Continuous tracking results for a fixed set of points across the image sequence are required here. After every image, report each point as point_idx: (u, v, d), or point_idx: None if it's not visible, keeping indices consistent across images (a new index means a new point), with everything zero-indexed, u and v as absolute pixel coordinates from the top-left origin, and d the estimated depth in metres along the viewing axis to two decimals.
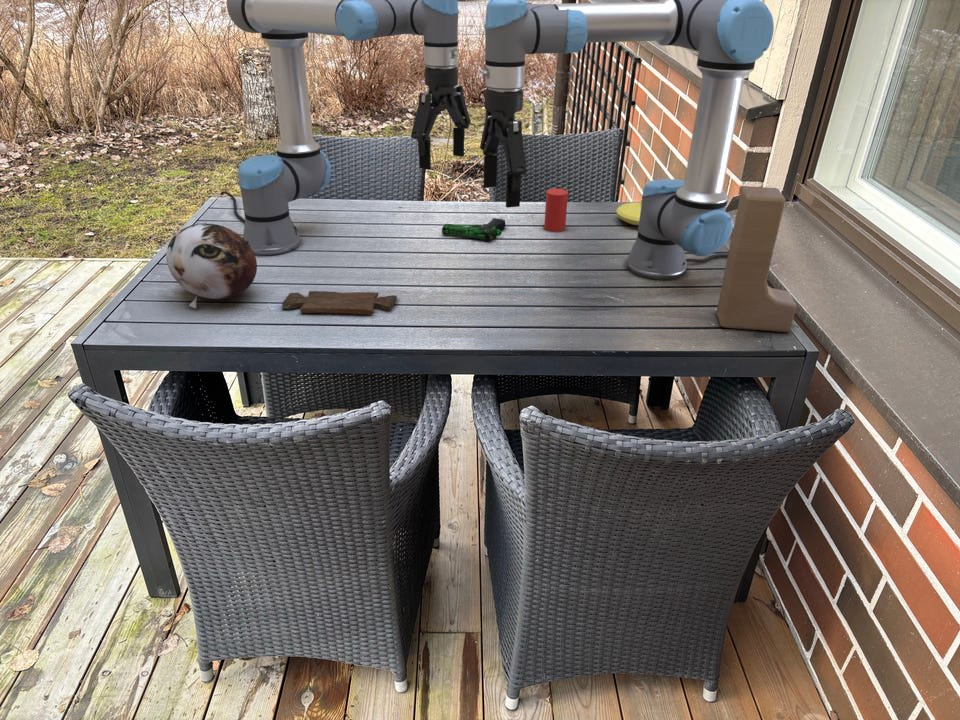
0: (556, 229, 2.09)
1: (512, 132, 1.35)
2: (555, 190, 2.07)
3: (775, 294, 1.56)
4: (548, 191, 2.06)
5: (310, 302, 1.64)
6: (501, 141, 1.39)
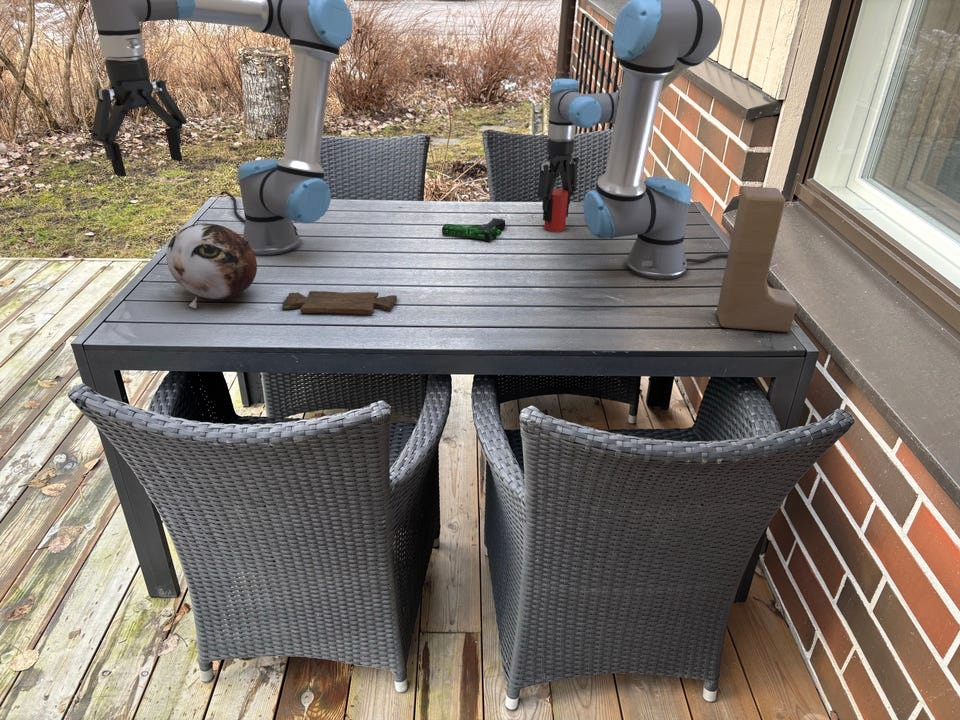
0: (556, 229, 2.09)
1: (541, 170, 2.00)
2: (555, 190, 2.07)
3: (775, 294, 1.56)
4: None
5: (310, 302, 1.64)
6: None
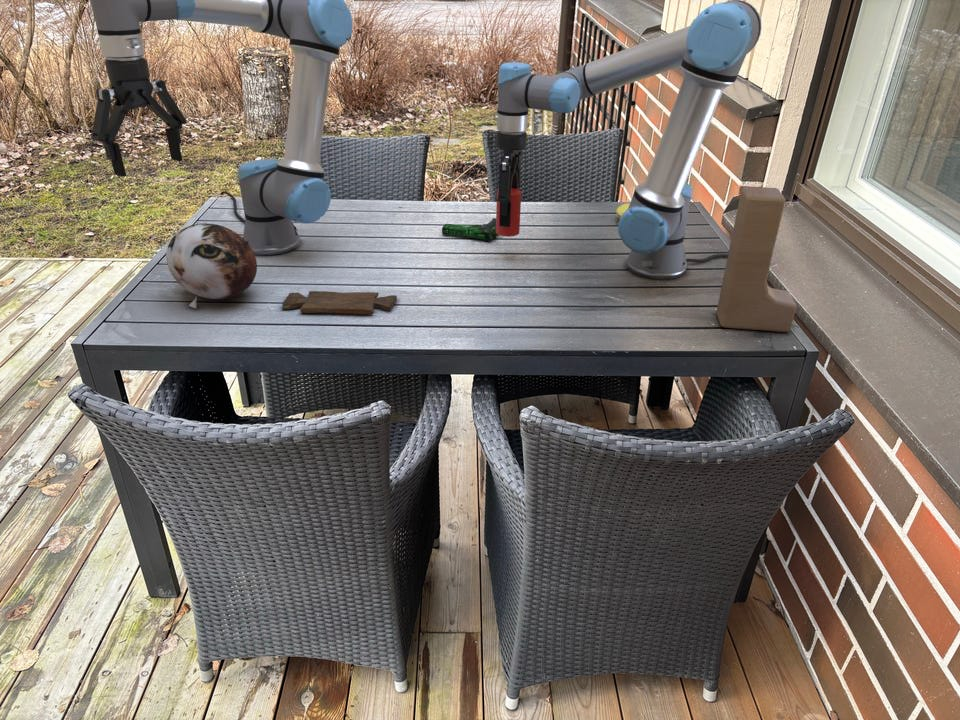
0: (515, 233, 1.86)
1: (501, 170, 1.74)
2: None
3: (775, 294, 1.56)
4: None
5: (310, 302, 1.64)
6: None
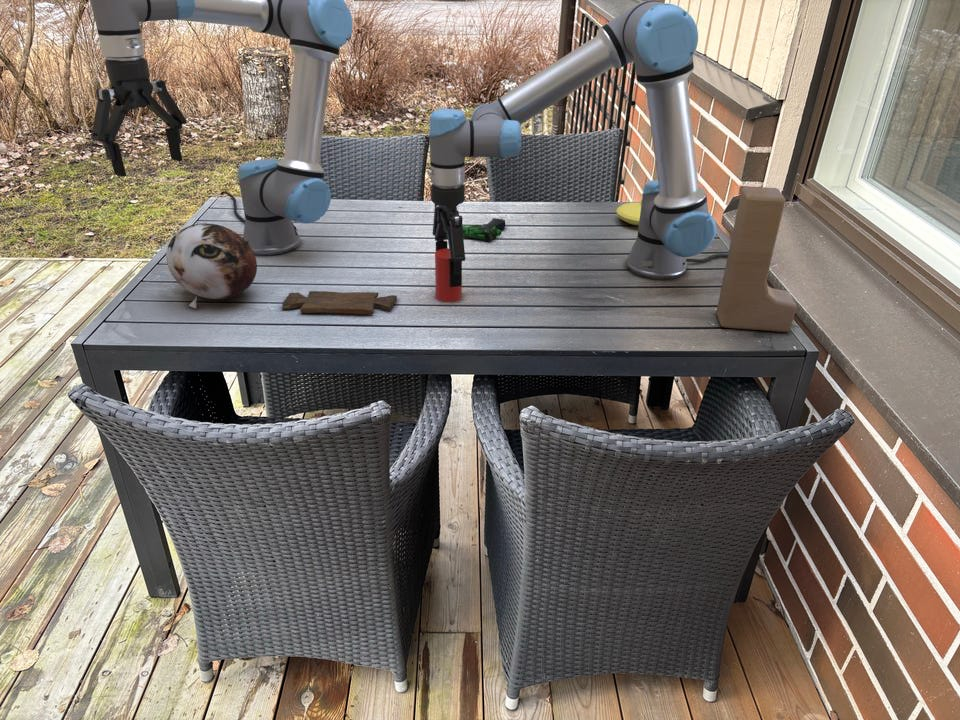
0: (461, 295, 1.70)
1: (454, 226, 1.55)
2: (444, 253, 1.65)
3: (775, 294, 1.56)
4: (443, 257, 1.63)
5: (310, 302, 1.64)
6: (445, 230, 1.59)
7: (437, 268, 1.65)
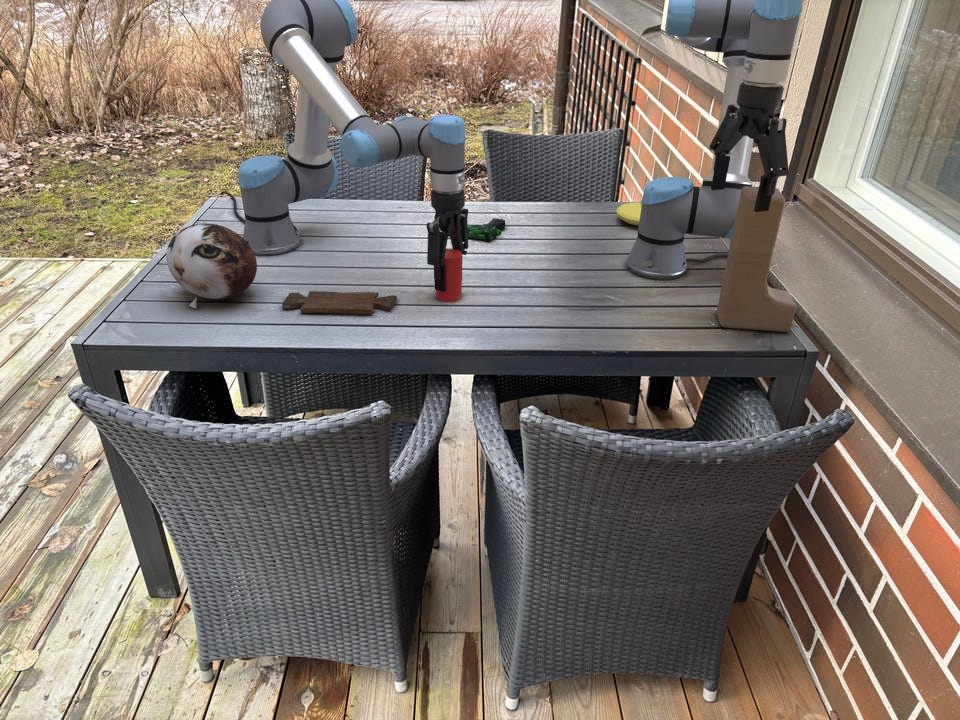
0: (461, 295, 1.70)
1: (776, 130, 1.24)
2: None
3: (775, 294, 1.56)
4: None
5: (310, 302, 1.64)
6: (756, 140, 1.28)
7: None
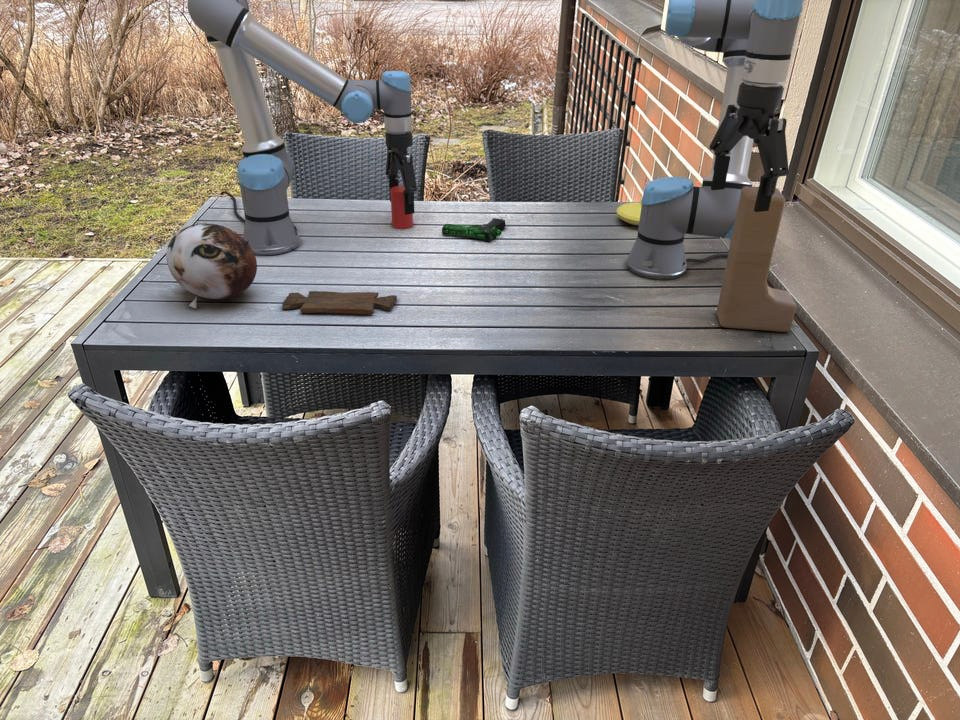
0: None
1: (776, 130, 1.24)
2: (399, 189, 2.06)
3: (775, 294, 1.56)
4: None
5: (310, 302, 1.64)
6: (756, 140, 1.28)
7: (401, 202, 2.05)
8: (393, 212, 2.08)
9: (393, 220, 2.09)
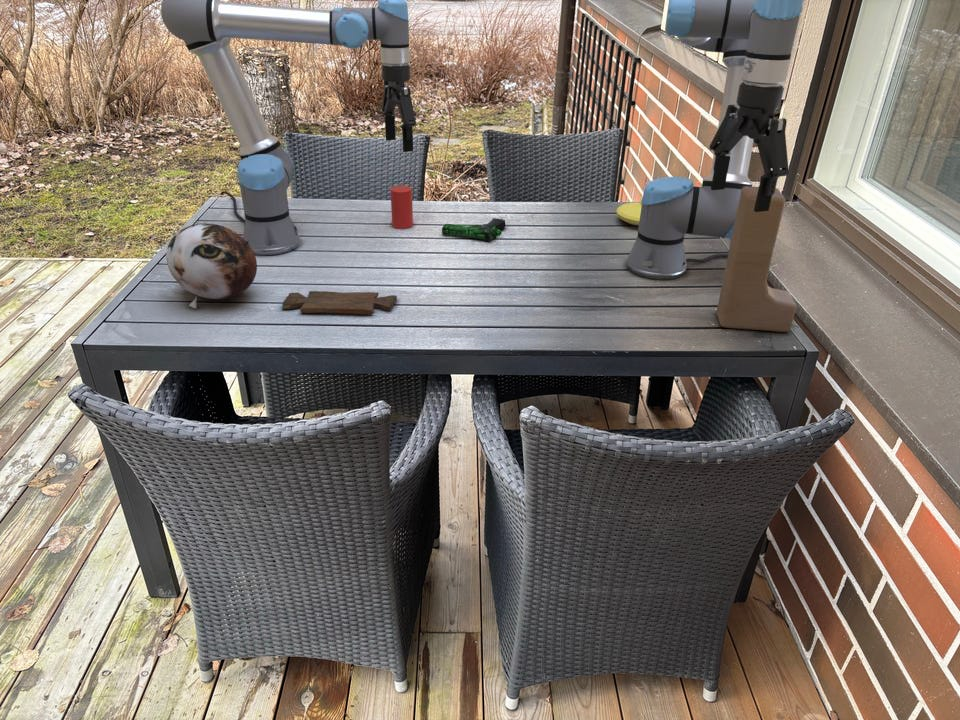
0: None
1: (776, 130, 1.24)
2: (399, 189, 2.06)
3: (775, 294, 1.56)
4: (405, 191, 2.05)
5: (310, 302, 1.64)
6: (756, 140, 1.28)
7: (401, 202, 2.05)
8: (393, 212, 2.08)
9: (393, 220, 2.09)
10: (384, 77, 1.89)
